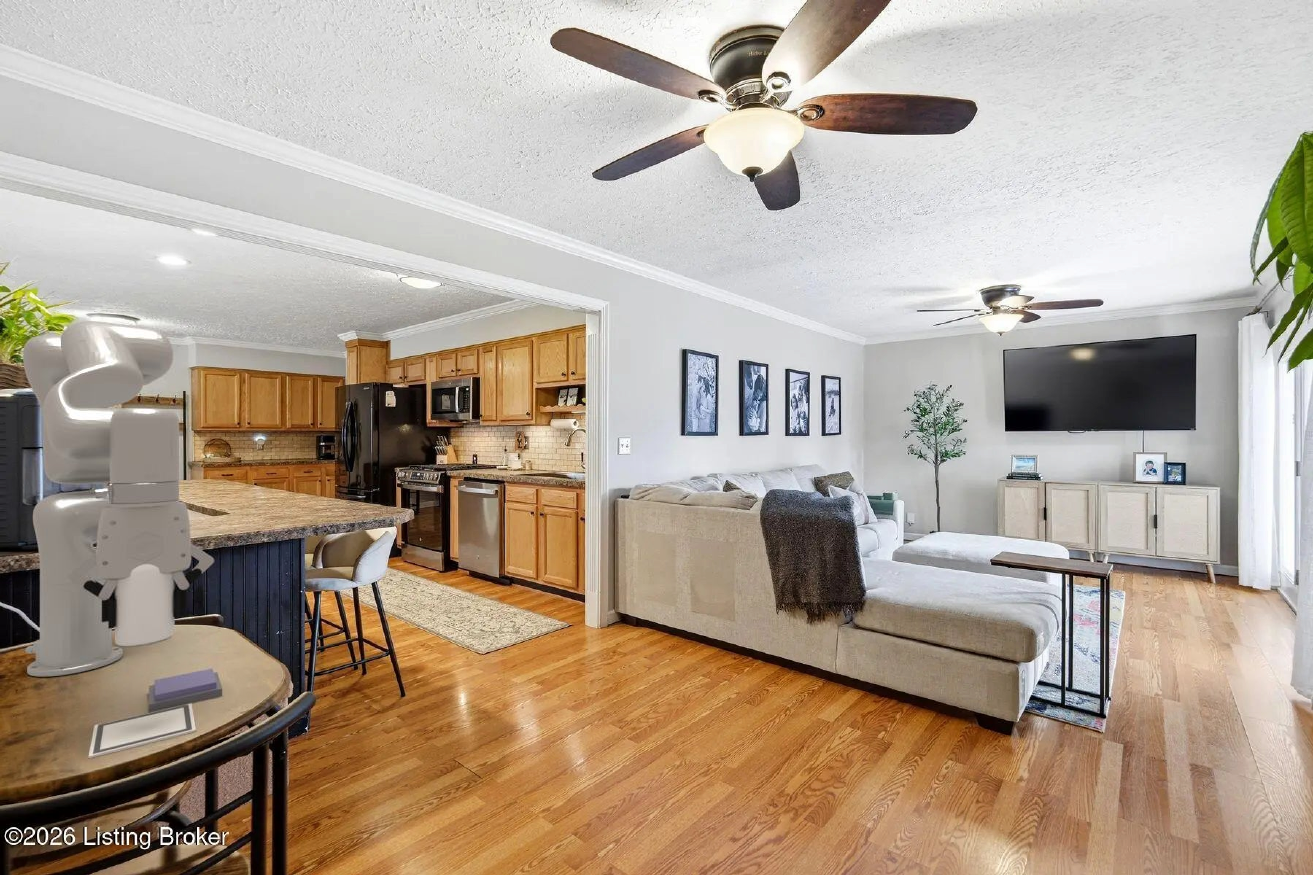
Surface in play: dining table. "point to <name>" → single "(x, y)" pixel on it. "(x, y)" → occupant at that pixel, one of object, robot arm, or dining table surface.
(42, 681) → the dining table surface
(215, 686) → the ink pad
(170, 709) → the marked card
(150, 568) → the can
